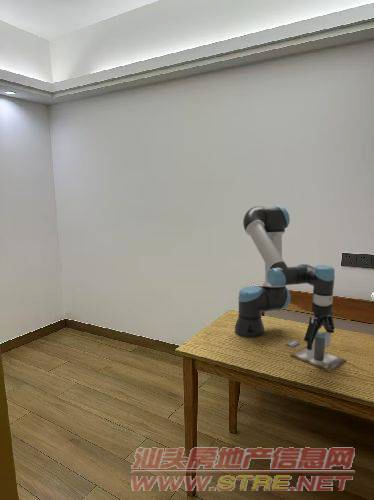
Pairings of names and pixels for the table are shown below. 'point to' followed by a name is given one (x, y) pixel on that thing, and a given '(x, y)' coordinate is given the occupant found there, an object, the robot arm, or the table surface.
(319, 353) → the marker
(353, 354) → the table surface
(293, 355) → the clipboard
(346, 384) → the table surface
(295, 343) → the word card
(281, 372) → the table surface
